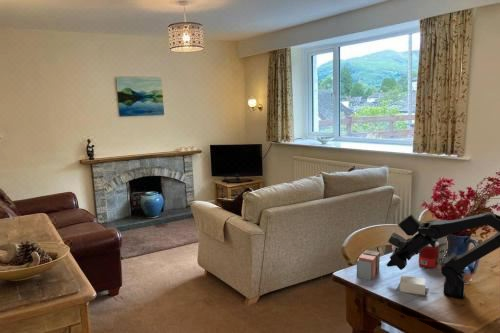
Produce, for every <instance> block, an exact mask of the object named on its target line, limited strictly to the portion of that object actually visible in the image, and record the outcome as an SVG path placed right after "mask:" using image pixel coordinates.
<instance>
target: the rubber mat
mask: <svg viewBox="0 0 500 333" xmlns="http://www.w3.org/2000/svg"><path fill="white" fill-rule="evenodd" d="M429 290H430V288H427V287H425V295H421V294H414V293H407V292H402V293H404V294H408V295H412V296H416V297H421V298H425V299H426V297H427V295H428V292H429ZM395 292H398V293H401V292H400V282H399V284H398V285H397V287H396V289H395Z"/></svg>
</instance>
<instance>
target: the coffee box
mask: <svg viewBox="0 0 500 333" xmlns="http://www.w3.org/2000/svg"><path fill="white" fill-rule="evenodd" d="M435 220H436V219H430V220H425V221H424V223H431V222H432V221H435ZM436 241H437V242H438V243H439V258H438V260H441V259H444V258H443V257H444V255H445V254H446V251H447V240H446V236H445V237H442V238H440V239H437V240H436Z"/></svg>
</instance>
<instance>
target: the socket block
mask: <svg viewBox="0 0 500 333" xmlns="http://www.w3.org/2000/svg"><path fill="white" fill-rule="evenodd" d="M364 252H365V250H364V251H363V253H364ZM371 265H372V262H366V261H361V260H359V257H358V258H357V260H356V279H360V280H361V279H365V280H370V281H371V280H372V279H371Z"/></svg>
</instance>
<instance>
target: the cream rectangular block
mask: <svg viewBox="0 0 500 333" xmlns="http://www.w3.org/2000/svg"><path fill="white" fill-rule="evenodd" d="M399 280H400V281H399V283H400V292H399V293H403V292H407V293H414V294H421V295H425V288H426V278H423V277H416V276H408V275H400V279H399ZM407 293H406V294H407Z"/></svg>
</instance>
